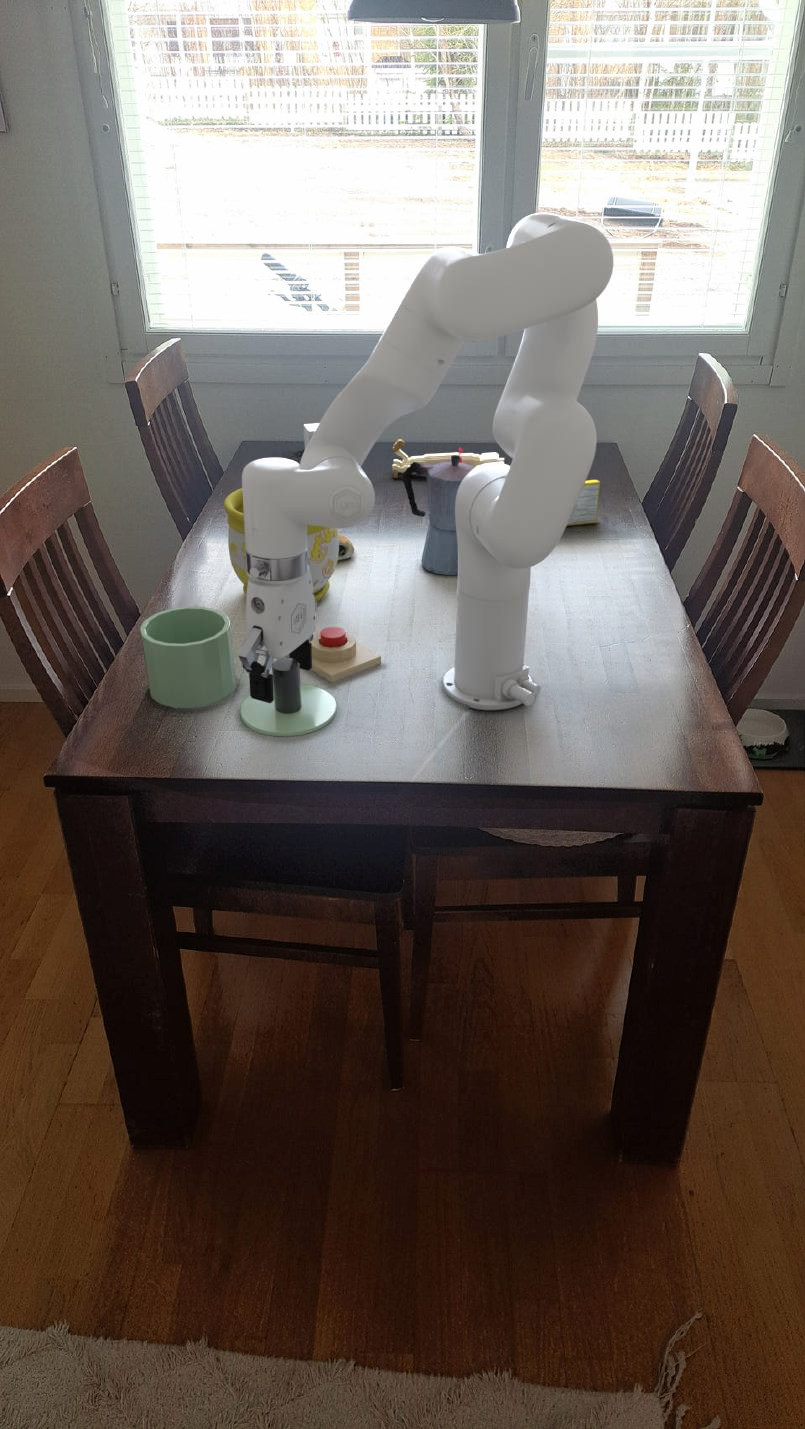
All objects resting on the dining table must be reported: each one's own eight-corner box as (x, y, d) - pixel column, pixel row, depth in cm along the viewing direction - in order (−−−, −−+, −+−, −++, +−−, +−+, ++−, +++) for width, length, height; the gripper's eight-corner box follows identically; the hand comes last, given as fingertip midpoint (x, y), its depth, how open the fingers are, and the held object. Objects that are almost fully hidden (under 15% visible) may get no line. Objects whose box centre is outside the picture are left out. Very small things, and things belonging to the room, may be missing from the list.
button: (350, 643, 146) (350, 633, 145) (330, 651, 144) (330, 640, 143) (335, 635, 148) (335, 624, 147) (315, 642, 146) (315, 631, 145)
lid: (353, 703, 138) (351, 653, 134) (306, 749, 128) (303, 697, 124) (273, 683, 142) (269, 634, 138) (221, 726, 133) (216, 675, 129)
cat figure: (392, 487, 217) (509, 481, 215) (389, 447, 213) (508, 440, 210) (396, 472, 226) (508, 466, 223) (393, 434, 221) (507, 427, 218)
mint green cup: (251, 679, 143) (246, 616, 138) (203, 719, 134) (196, 652, 129) (183, 662, 148) (175, 600, 142) (132, 699, 138) (122, 634, 133)
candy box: (592, 520, 198) (597, 478, 193) (597, 523, 196) (601, 482, 192) (515, 527, 194) (517, 485, 190) (518, 531, 192) (521, 489, 188)
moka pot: (483, 580, 173) (489, 466, 162) (396, 573, 175) (395, 460, 165) (490, 559, 181) (496, 449, 170) (406, 552, 183) (407, 443, 173)
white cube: (329, 448, 238) (329, 422, 234) (335, 455, 233) (334, 429, 230) (304, 449, 236) (303, 424, 233) (309, 457, 231) (308, 431, 228)
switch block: (381, 666, 147) (381, 645, 145) (331, 686, 142) (330, 664, 140) (336, 639, 154) (335, 619, 152) (287, 657, 149) (285, 636, 147)
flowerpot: (286, 563, 179) (281, 473, 170) (363, 591, 169) (361, 496, 160) (209, 596, 167) (199, 501, 158) (287, 628, 157) (280, 528, 148)
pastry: (306, 546, 186) (305, 526, 184) (341, 541, 188) (340, 521, 186) (322, 564, 178) (322, 544, 176) (358, 559, 181) (358, 539, 179)
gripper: (265, 593, 116) (271, 720, 124) (337, 544, 129) (338, 662, 138) (211, 581, 118) (220, 706, 127) (287, 534, 132) (291, 650, 141)
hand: (282, 683), depth 132 cm, fingers open, 9 cm apart
